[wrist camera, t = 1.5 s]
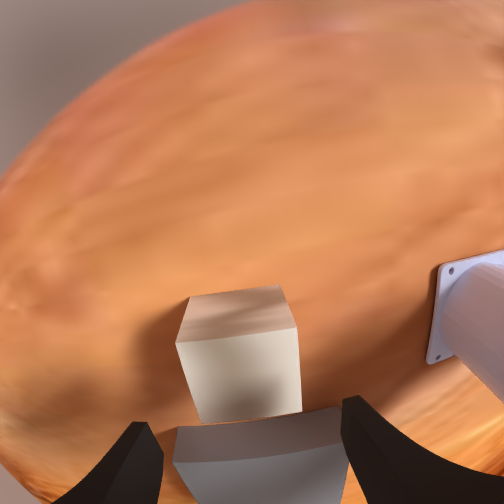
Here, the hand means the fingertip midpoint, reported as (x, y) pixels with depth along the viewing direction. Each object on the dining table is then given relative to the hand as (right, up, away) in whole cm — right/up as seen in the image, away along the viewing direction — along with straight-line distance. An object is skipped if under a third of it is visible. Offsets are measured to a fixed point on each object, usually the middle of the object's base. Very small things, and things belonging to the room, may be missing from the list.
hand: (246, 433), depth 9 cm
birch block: (0, +2, +8) cm, 8 cm away
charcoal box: (+1, -11, +12) cm, 16 cm away
